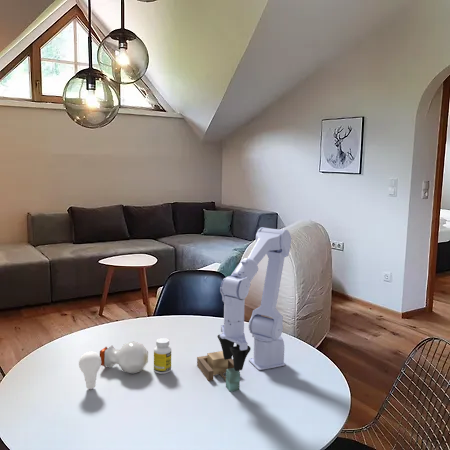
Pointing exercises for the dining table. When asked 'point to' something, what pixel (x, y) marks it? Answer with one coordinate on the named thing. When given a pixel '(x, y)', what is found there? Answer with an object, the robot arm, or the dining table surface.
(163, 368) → the supplement bottle
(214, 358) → the wooden blocks on rod
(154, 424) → the dining table surface
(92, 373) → the lightbulb
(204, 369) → the wooden u-shaped bracket
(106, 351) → the potion bottle
